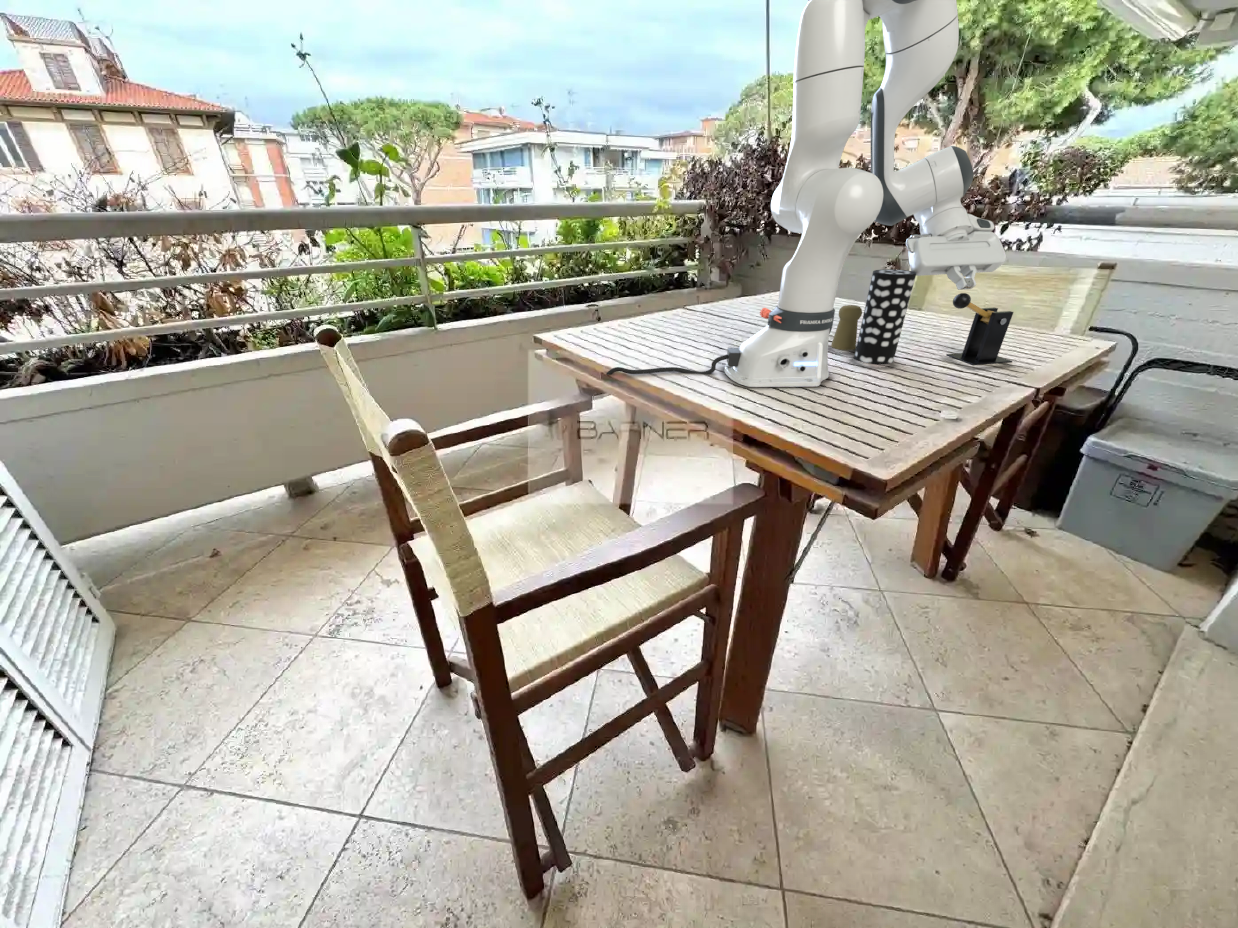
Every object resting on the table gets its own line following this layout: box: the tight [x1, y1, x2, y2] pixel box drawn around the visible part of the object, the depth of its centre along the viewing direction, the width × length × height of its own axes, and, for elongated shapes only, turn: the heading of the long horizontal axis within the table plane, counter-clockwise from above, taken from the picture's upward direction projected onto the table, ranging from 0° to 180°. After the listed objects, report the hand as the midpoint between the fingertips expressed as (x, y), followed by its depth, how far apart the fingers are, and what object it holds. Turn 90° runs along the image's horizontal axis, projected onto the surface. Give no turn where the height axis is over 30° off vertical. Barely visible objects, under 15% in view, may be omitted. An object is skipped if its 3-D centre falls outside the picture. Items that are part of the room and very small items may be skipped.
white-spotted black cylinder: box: [853, 268, 916, 365], centre depth 108 cm, size 8×8×20 cm
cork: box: [830, 304, 863, 351], centre depth 120 cm, size 6×6×11 cm
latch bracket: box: [945, 307, 1014, 366], centre depth 109 cm, size 10×8×12 cm
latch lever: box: [952, 292, 994, 324], centre depth 105 cm, size 13×3×3 cm, turn 99°
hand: (967, 287), depth 102 cm, fingers closed
